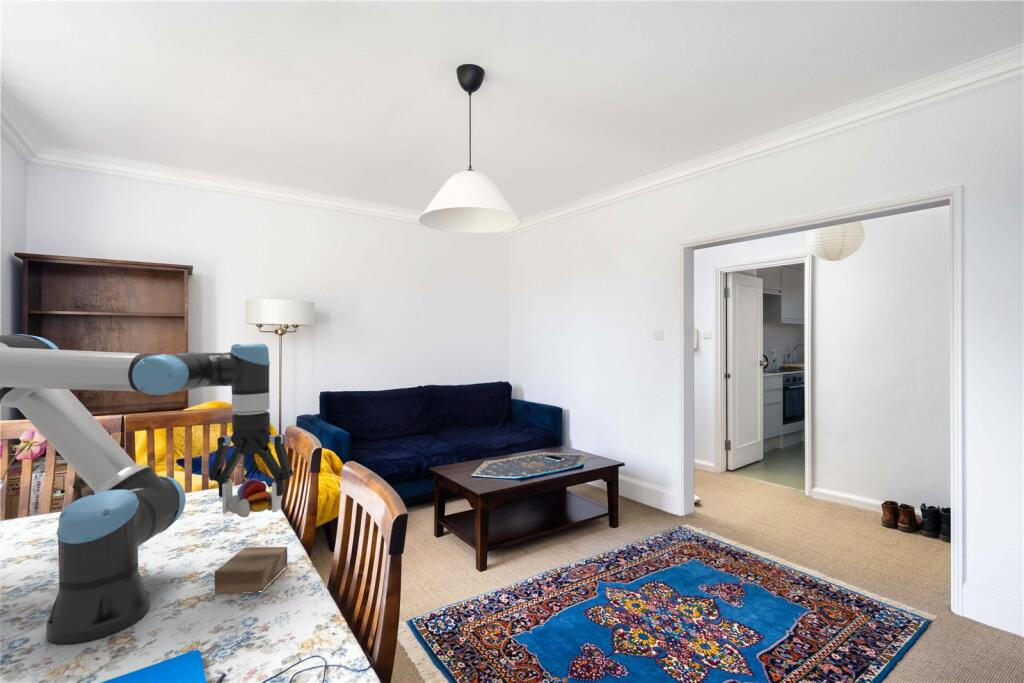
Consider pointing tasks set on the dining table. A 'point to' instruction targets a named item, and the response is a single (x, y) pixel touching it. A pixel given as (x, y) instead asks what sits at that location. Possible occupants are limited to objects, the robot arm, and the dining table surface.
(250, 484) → the rainbow cloud toy
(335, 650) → the dining table surface
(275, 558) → the walnut block
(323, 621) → the dining table surface
